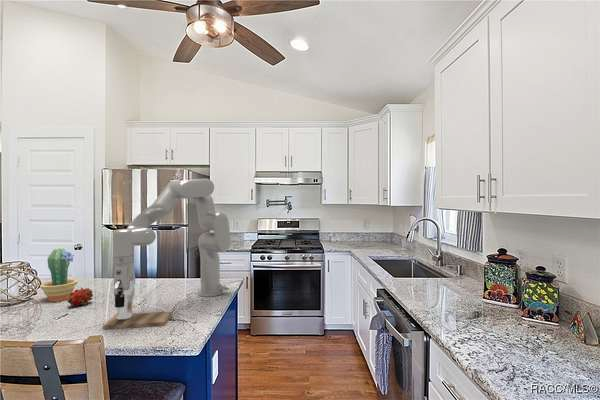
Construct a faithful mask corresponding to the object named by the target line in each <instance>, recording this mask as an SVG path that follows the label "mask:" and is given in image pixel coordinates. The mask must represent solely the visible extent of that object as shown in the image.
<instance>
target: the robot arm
mask: <svg viewBox="0 0 600 400" xmlns="http://www.w3.org/2000/svg"><path fill="white" fill-rule="evenodd" d="M214 190H215V184H214V182H213V181H212V180H211V179H209V178H191V179H183V180H181V179H180V180H172V181H170V182H168V183H167V185H165V187H164V188H163V189H162V191H161V192H160V193H159V195H158V197H157V198H156V199H155V200H154V201H153V203H152V204H151V205H150V206H148V207H147V208H145V209H144V210H142V211H141V212H140V213H139V214H138V215H136V216H135V218H133V220H132V221H131V222H130V223H129V224H128V226H127V228H121V229H120V228H119V229H116V230H114V231H113V232H112V266H114V269H113V288H112V289H113V295H114V296H113V297H114V307H115V308H118V307H124V296H123V294H124V290H128V289H130V281H131V280H133V279H134V286H135V284H136V272H135V271H136V269H135V247H136V246H142V247H143V246H146V247H147V246H149V245H152V244H153V243H154V242H155V240H156V238H157V237H156V235H157V234H156V232H155V230H153V229H152V228H149V227H150V226H152V225H153V224H154V223H157V222H159V221H160V220H163V219H165V218H167V217H169V216H170V215H171V214H172V212H173V211H174V209H175V208H176V206H177V205H178V203H179V202H180V201H181V200H182V199H183V200H188V199H192V200H194V203H195V205H196V209H197V218H198V219H197V220H198V224H199V227H200V228H201V229H202V230H204V231H207V232H203V233H201V234H200V236H199V237H198V240H197V243H198V244H197V245H198V250H199V256H200V290H198V292H197V296H199V297H202V298H203V297H204V298H213V297H218V296H220V295H223V293H224V290H225V291H229V288H230V287H229V285H226V284H225V285H222V283H221V280H220V279H221V278H220V277H221V276H220V275H221V273H220V265H221V263H220V260H221V259H220V255H219V253H225V252H226V251H228V250H229V249H230V246H231V241H232V240H231V230H230V222H229V218H228V216H227V214H226V213H224V212H222V211H216V209H215V203H214V199H213V196H212V194H213V193H214ZM212 231H213V232H212ZM119 288H123V289H119ZM120 291H122V292H121V293H120Z"/></svg>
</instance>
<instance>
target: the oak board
mask: <svg viewBox="0 0 600 400" xmlns="http://www.w3.org/2000/svg"><path fill="white" fill-rule="evenodd" d="M133 314H134V316H133V317H132V318H131V319H127V320H117V319H116V318H117V314H115V315H114V316H113V317H112V318H111V319H109V320H108V321H107V322H105V324H103V326H102V329H103V330H104V331H105V330H116V329H115V328H120V329H132V328H131V327H136V328H149V327H165V325H166V324H167V323H168V322H169V320H170V319H171V317H172V316H173V311H172V310H171V311H170V310H169V311H157V312H152V311H151V312H135V313H134V312H133ZM169 318H170V319H169Z"/></svg>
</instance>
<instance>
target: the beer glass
mask: <svg viewBox="0 0 600 400" xmlns="http://www.w3.org/2000/svg"><path fill="white" fill-rule="evenodd" d="M119 289H123V288H119ZM121 292H122V291H120V293H121ZM123 296H124V307H118V308H117V312H116V313H117V318H116V319H117V320H127V319H131V318H132V317H133V316H134V310H133V304H134V298H135V285H134V279H133V280H131V281H130V289H128V290H124V294H123Z"/></svg>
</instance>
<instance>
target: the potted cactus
mask: <svg viewBox="0 0 600 400" xmlns="http://www.w3.org/2000/svg"><path fill="white" fill-rule="evenodd" d="M46 260H47V268H48V269H49V272H50V277H51V280H50V281H46V282H43V283H40V284H41V285H39V287H40V290H42V291H43V293H44V295H45V296H46V297H47V299H48V302H61V301H64V300H69V297H70V294H71V293H72V292H74V291H75V290H74V289H75V288H76V285H78V279H74V278H68V274H69V273H68V272H69V271H68V270H69V266H70V263H73V262H74V255H73V254H72V252H70V251H67V250H66V249H65V248H60V247H59V248H54V249H53V250H52V251H51V253H50V254H49V256H47V259H46Z"/></svg>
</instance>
